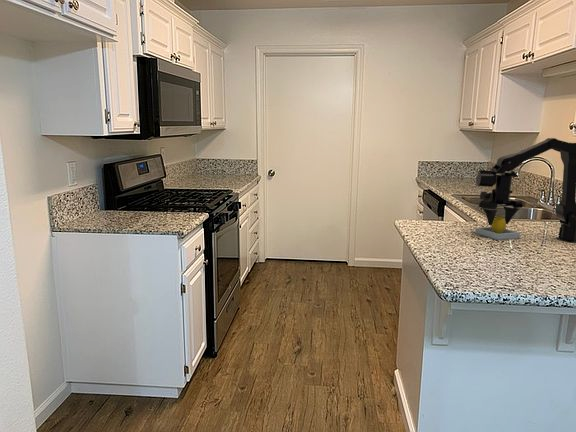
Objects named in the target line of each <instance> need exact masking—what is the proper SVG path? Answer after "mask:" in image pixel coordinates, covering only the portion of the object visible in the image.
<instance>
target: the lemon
mask: <svg viewBox="0 0 576 432" xmlns="http://www.w3.org/2000/svg"><path fill="white" fill-rule="evenodd" d="M490 227H491V228H492V231H493V232H495V233H497V234H500V233H502V232H504V230H505V229H506V228H507V224H506V221H505V217H502V215H498V216H495V218H494V220H493V223H492V225H490Z"/></svg>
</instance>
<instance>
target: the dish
mask: <svg viewBox="0 0 576 432" xmlns="http://www.w3.org/2000/svg"><path fill="white" fill-rule="evenodd" d="M474 234H475V235H477V236H481V237H485V238H488V239H491V240H494V241H508V240H509V241H510V240H519V239H520V236H521V235H520V234H521V232H518V231H516V230H515V231H514V230H511V229H508V228H507V229H506V228H505V230H504V232H502V233H500V234H497V233H495V232H493V231H492V228H491V226H486V227H475V230H474Z"/></svg>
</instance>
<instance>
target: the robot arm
mask: <svg viewBox="0 0 576 432" xmlns="http://www.w3.org/2000/svg"><path fill="white" fill-rule="evenodd" d="M550 150H553V151H556V152H558V153H560V159H561V161H562V164H563V170H562V171H563V173H562V174H563V175H562V188H561V190H562V191H561V192H562V193H561V201H559V203H555V211H554V214H556V217H557V219H558V220H559V224H561V225H560V227H559V231H558V237H556V239H557V240H561V241H564V242H568V243H576V142H568V141H563V140H560V139H558V138H555V137H548V138H546V139H544V140H542V141H541V142H538V143H535V144H534V145H532V146H530V147H529V146H528V147H527V148H525V149H523V150H521V151H518V152H516V153H511V154H507V155H503V156H501V157H498V159H497V161H496V163H495V164H494V165H493V167H492V168H491V169H490V170H487V169H478V173H477V175H476V177H475V184H476V186H477V187H485V188H486V187H489V188H492V187H493V186H495V187H494V188H492V190H491V192H487V191H481V192H480V195H479V199H480V201H479V203H478V208H481V210H483V212H484V213H485V214H486V219H487V223H488V225H489V226H491V225H492V223H493V220H494V218H496V214H497V212H498V209H497V208H499V207H503V208H504V211H505V213H504V219H505V221H506V225H508V224H509V223H510V221H511V219H512V218H513V217H514V216H515V214H516V213H517V212H518V211H520V209H522V208H523V202H522V201H521V200H518V199H511V198H510V195H511V194H513V193H514V191H513V190H511V188H512V182H513V181H512V180H513V178H519V177H518V176H519V175H518V174H517V173H516V172H515V169H517V168H518V167H519V166H521V165H522V163H523V164H524V162H525V161H528V160H531V159H532V158H535V157H537V156H538V155H541V154H543V153H546V152H548V151H550Z"/></svg>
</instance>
